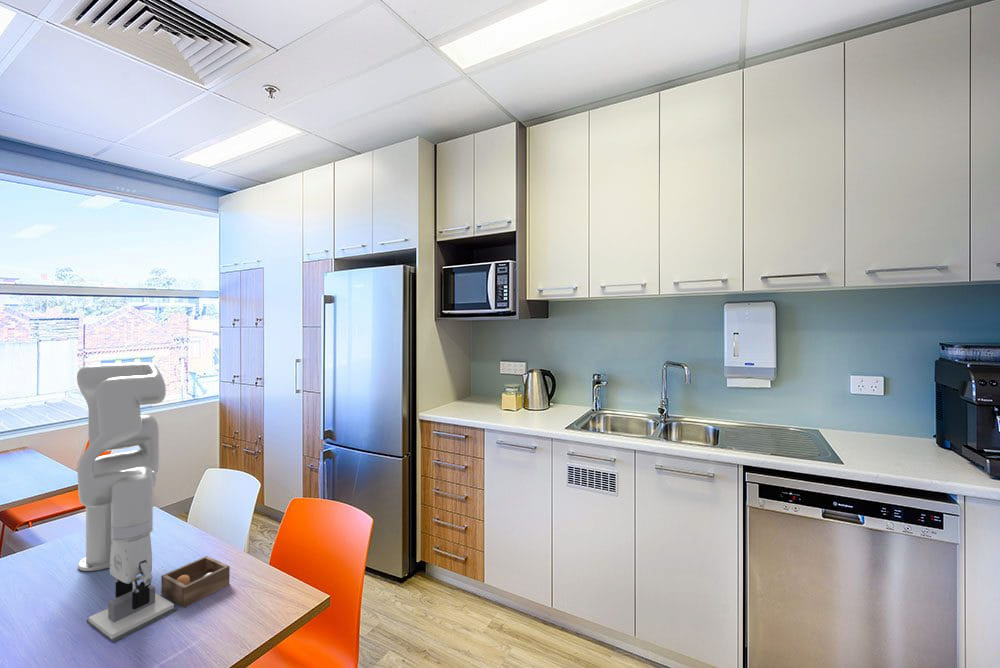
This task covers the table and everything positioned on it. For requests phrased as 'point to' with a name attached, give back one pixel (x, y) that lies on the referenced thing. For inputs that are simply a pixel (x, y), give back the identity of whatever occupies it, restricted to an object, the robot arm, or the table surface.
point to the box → (195, 581)
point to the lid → (128, 613)
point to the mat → (137, 626)
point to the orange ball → (184, 579)
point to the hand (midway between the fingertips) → (132, 600)
